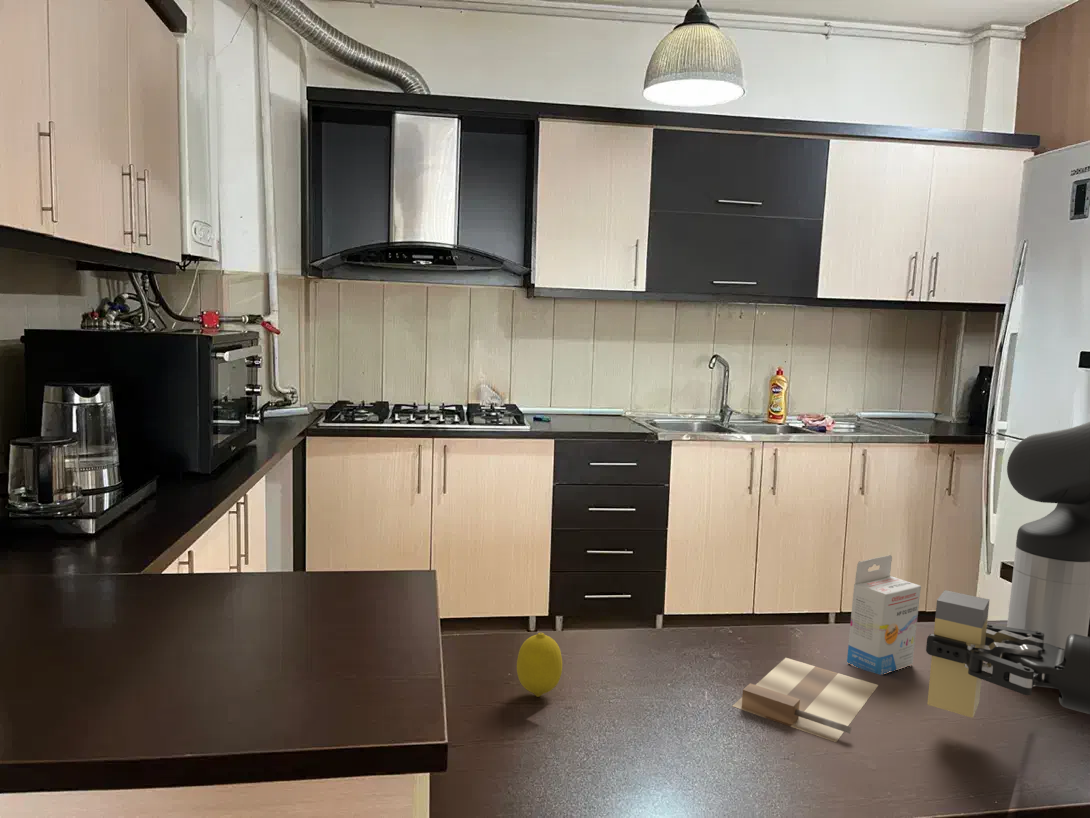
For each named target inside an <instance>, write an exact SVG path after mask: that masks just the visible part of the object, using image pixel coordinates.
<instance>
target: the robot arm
mask: <svg viewBox="0 0 1090 818" xmlns="http://www.w3.org/2000/svg"><path fill="white" fill-rule="evenodd" d="M1006 472H1007V473H1006V474H1007V478H1008V480H1009V483H1010V485H1011V487H1012V488H1013V490H1015V491H1016V492H1017V493H1018V494H1019V495H1021V496H1022V497H1023V498H1026V499H1028V500H1030V501H1034V502H1039V503H1044V504H1046V503H1047V504H1056V506H1055V508H1054V509H1053V510H1052V511H1050V513H1048V514H1047V515H1045V516H1043V517H1041V518H1039V519H1035V520H1033V521H1030V522H1027V523H1024V524H1022V525H1021V526H1020V527H1019V528H1018V530H1017V533H1016V540H1015V541H1016V542H1015V551H1014V559H1013V561H1014V562H1013V569H1012V580H1011V587H1010V597H1009V605H1008V606H1009V607H1008V614H1007V623H1006V624H1007V625H1006V626H1004V625H998V624H991V623H987V630H986V640H985V645H980V644H974V643H967V644H966V642H964V641H960V640H955V639H951V638H947V637H943V636H939V635H935V634H934V633H930V634H929V635H928V636H927V638H926V645H925V651H926V654H928V655H929V656H931V657H932V656H936V657H940V658H944V659H948V660H951V661H955V662H959V663H964V666H965V667H966V668H968V674H970V675H972V676H974V677H977V678H980V679H982V680H983V681H986V682H988V683H991V684H994V685H996V686H1000V687H1002V688H1005V689H1007V690H1010V691H1013V692H1015V693H1018V694H1021V695H1023V696H1024V695H1025V696H1031V695H1032V693H1033V687H1040V688H1051V689H1056V690H1058V691H1059V696H1058V702H1059V704H1060V706H1062V707H1063V708H1065V709H1069V710H1073V711H1076V712H1080V713H1085V714H1088V715H1090V636H1088V634H1089V625H1090V421H1088V422H1085V423H1082V424H1079V425H1076V426H1073V427H1069V428H1065V429H1059V430H1053V431H1048V432H1042V433H1037V434H1032V435H1029V436H1027V437H1025V438H1023V439H1022V440H1021V441H1020V442H1018V443H1017V444H1016V445H1015V447H1014V448H1013V450H1012V451H1011V453H1010V454H1009V457H1008V460H1007V466H1006Z"/></svg>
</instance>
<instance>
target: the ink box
mask: <svg viewBox="0 0 1090 818" xmlns="http://www.w3.org/2000/svg"><path fill="white" fill-rule="evenodd" d="M892 562H893V556H892V555H891V554H887V555H884V556H879V557H878V556H877V557H873V558H870V559H866V560H861V561H858V563H857V566H856V572H855V578H854V579H855V581H854V584H853V593H852V604H851V614H850V624H849V635H848V644H847V645H848V646H847V655H846V656H847V657H846V663H847V662H848V663H850V664H853V665H854V666H856V667H858V668H861V669H860V670H862V669H863V671H866V672H870V673H873V674H877V675H880V676H882V675H881V674H884V673H887V672H889V671H894V670H896V669H899V668H901V667H905V666H908V665H910V664H912V663H914V653H915V652H914V651H915V644H916V633H917V625H918V615H919V607H920V596H921V589H922V586H921V585H920V584H917V583H913V582H910V581H908V580H905V579H901V578H898V577H894V576H893V575H891V570H892ZM873 566H876V567H877V566H879V568H878V569H873V570H869V569H870V568H872V567H873ZM912 665H913V664H912ZM858 668H857V669H858Z"/></svg>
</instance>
